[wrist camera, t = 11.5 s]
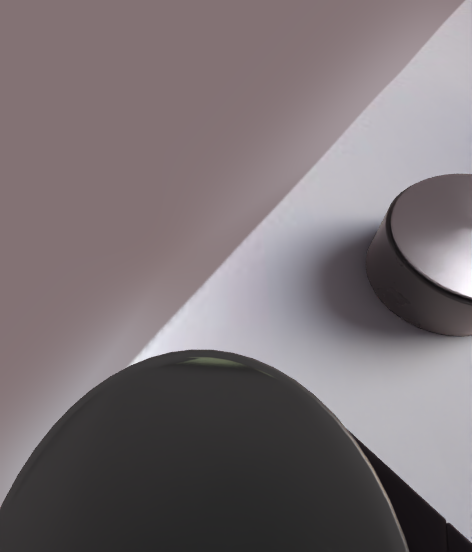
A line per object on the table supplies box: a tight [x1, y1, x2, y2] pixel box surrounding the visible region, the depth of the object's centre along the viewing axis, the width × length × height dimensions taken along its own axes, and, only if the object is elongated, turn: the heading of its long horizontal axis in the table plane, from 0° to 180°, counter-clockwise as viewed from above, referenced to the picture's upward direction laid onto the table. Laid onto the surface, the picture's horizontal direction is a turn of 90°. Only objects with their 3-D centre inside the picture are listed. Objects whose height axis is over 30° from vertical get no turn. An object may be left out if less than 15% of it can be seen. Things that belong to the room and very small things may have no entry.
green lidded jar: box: [0, 350, 409, 552], centre depth 7 cm, size 6×6×7 cm
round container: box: [366, 174, 472, 336], centre depth 17 cm, size 9×9×4 cm
